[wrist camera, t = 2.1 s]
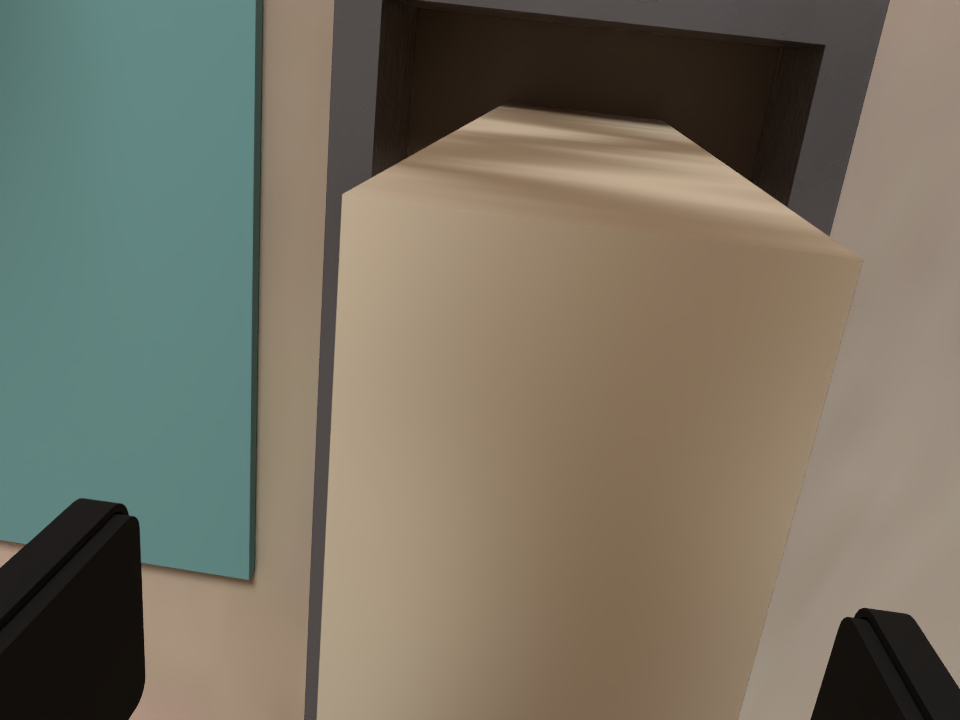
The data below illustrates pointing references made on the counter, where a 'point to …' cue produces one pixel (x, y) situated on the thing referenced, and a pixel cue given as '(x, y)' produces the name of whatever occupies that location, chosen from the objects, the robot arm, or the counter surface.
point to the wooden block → (566, 423)
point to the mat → (132, 270)
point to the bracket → (610, 5)
